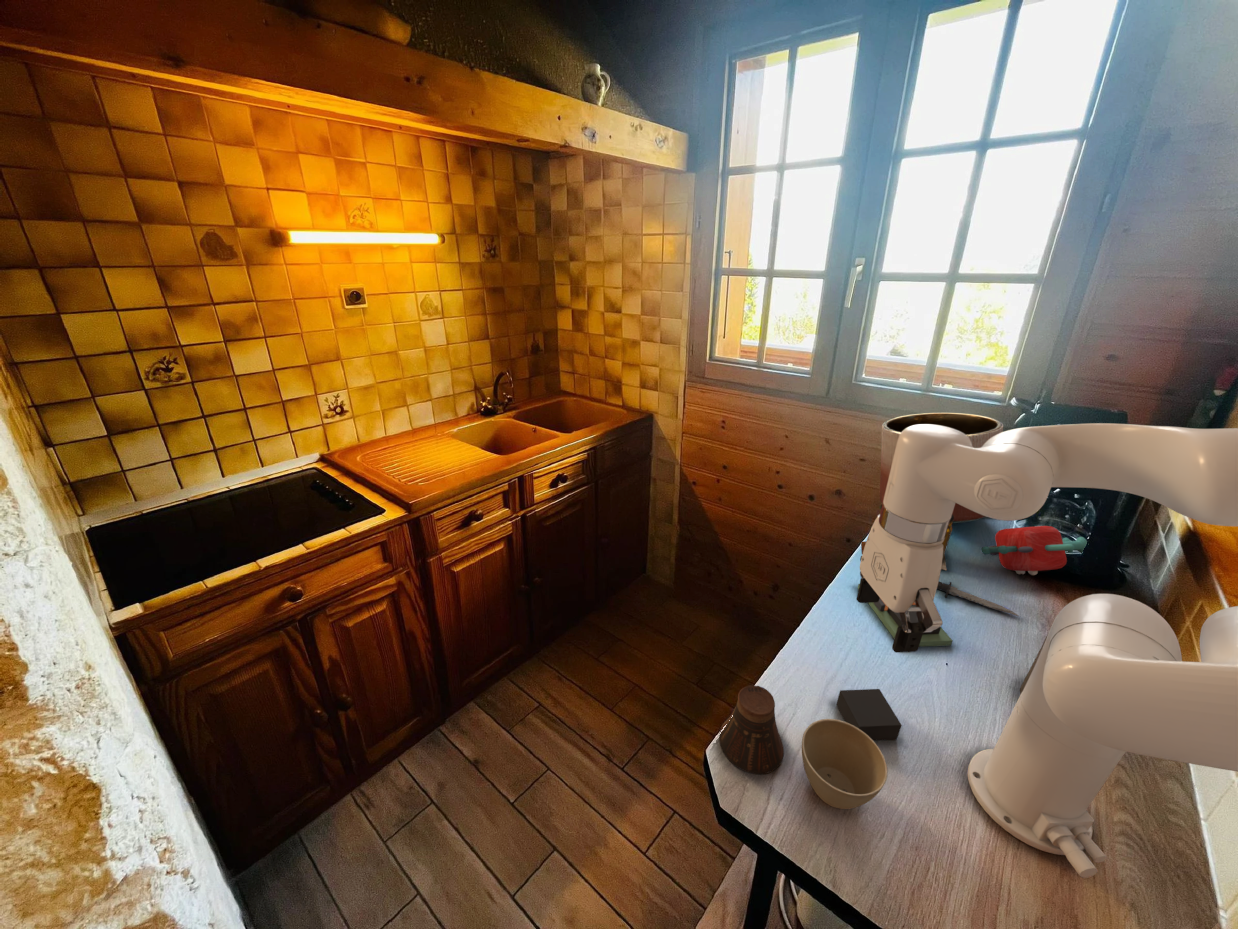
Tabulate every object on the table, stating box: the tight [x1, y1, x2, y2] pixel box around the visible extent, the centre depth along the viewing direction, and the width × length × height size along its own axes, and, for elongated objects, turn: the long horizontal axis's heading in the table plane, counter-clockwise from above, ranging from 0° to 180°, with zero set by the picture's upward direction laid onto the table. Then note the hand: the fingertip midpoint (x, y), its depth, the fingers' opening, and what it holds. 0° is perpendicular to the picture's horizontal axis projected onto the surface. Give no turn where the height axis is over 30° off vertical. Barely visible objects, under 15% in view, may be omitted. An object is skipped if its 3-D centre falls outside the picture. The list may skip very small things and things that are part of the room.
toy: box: [980, 525, 1088, 577], centre depth 104 cm, size 17×10×20 cm
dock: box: [857, 577, 953, 648], centre depth 94 cm, size 16×9×3 cm, turn 2°
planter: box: [879, 412, 1004, 524], centre depth 124 cm, size 25×25×22 cm
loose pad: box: [836, 688, 903, 742], centre depth 73 cm, size 6×6×3 cm
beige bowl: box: [801, 718, 889, 810], centre depth 63 cm, size 10×10×7 cm
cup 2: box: [718, 685, 785, 775], centre depth 68 cm, size 9×9×10 cm
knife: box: [937, 581, 1020, 617], centre depth 98 cm, size 19×2×5 cm
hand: (884, 624), depth 69 cm, fingers open, 9 cm apart
